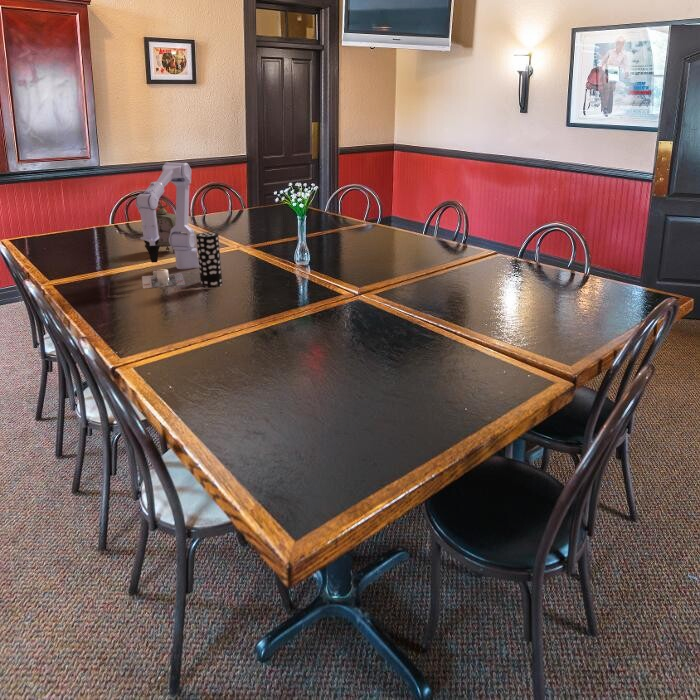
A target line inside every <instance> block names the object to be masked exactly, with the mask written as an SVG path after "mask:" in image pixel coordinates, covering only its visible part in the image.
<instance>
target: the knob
mask: <svg viewBox="0 0 700 700" xmlns="http://www.w3.org/2000/svg"><path fill="white" fill-rule="evenodd" d="M152 274H153V276H157V280H158V282H160V284H168V281H169V274H170V273H169V269H165V268H161V269H157V270H154V271H152Z"/></svg>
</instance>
